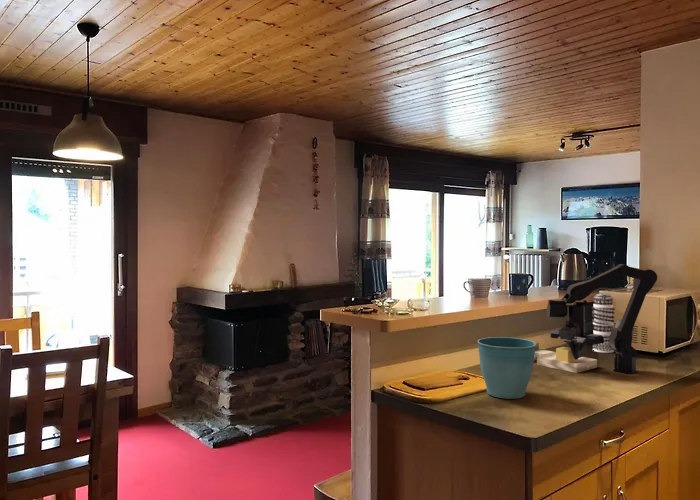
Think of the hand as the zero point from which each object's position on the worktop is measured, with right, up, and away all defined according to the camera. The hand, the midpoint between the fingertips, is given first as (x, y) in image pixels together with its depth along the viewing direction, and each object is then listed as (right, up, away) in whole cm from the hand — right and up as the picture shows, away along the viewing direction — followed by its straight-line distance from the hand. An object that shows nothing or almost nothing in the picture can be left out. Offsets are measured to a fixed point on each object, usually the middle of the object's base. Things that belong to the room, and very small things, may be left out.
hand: (576, 359), depth 211 cm
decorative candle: (+26, -3, +35) cm, 44 cm away
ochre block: (-3, -1, +4) cm, 5 cm away
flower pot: (-35, -6, -31) cm, 47 cm away
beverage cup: (+30, -4, +24) cm, 39 cm away
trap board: (-4, -4, +11) cm, 13 cm away
